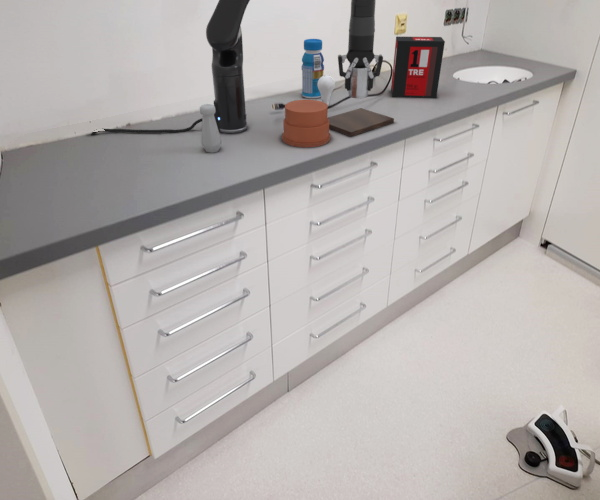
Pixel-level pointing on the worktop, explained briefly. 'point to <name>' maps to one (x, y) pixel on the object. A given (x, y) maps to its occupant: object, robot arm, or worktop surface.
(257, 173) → the worktop surface
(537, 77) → the worktop surface
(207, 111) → the salt shaker
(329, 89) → the lightbulb
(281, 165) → the worktop surface
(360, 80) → the steel cup
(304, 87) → the beverage bottle
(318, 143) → the terracotta flower pot
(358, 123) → the board
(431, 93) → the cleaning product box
